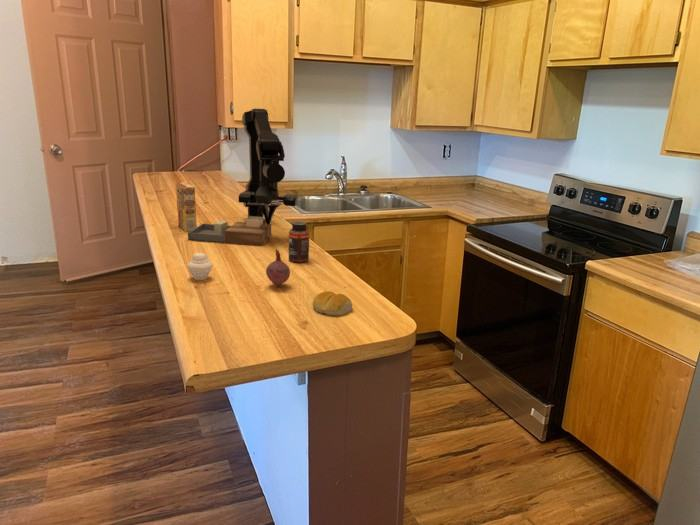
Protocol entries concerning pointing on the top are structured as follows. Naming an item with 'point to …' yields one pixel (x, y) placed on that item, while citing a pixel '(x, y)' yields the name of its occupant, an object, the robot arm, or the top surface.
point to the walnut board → (247, 234)
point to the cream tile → (254, 221)
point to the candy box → (186, 206)
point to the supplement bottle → (298, 243)
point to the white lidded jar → (199, 266)
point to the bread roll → (332, 303)
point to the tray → (205, 234)
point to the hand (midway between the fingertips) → (268, 224)
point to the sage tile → (220, 227)
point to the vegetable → (278, 271)
